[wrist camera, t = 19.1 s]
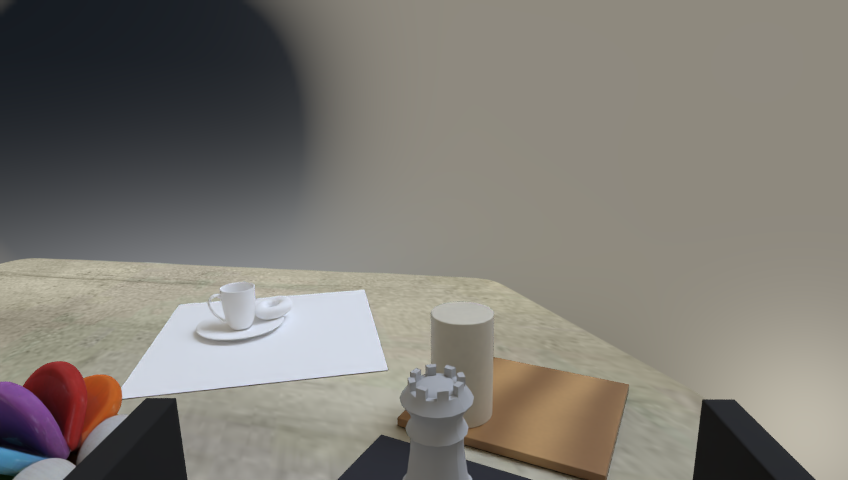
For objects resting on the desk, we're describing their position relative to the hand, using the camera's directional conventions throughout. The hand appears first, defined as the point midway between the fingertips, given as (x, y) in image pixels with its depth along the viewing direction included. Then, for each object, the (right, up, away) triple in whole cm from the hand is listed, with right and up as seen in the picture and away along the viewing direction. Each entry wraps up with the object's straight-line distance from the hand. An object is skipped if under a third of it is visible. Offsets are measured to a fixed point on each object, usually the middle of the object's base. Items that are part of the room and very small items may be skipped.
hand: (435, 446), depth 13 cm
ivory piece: (+2, -6, +22) cm, 23 cm away
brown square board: (+6, -6, +23) cm, 25 cm away
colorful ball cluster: (-20, -9, +15) cm, 27 cm away
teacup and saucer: (-15, -4, +36) cm, 39 cm away
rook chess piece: (0, -9, +12) cm, 15 cm away
